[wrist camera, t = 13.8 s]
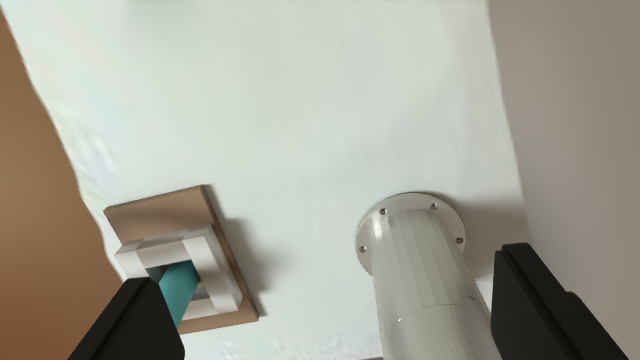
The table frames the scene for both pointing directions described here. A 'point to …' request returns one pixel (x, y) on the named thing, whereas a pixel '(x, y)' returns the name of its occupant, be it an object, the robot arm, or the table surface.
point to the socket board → (178, 219)
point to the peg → (179, 287)
